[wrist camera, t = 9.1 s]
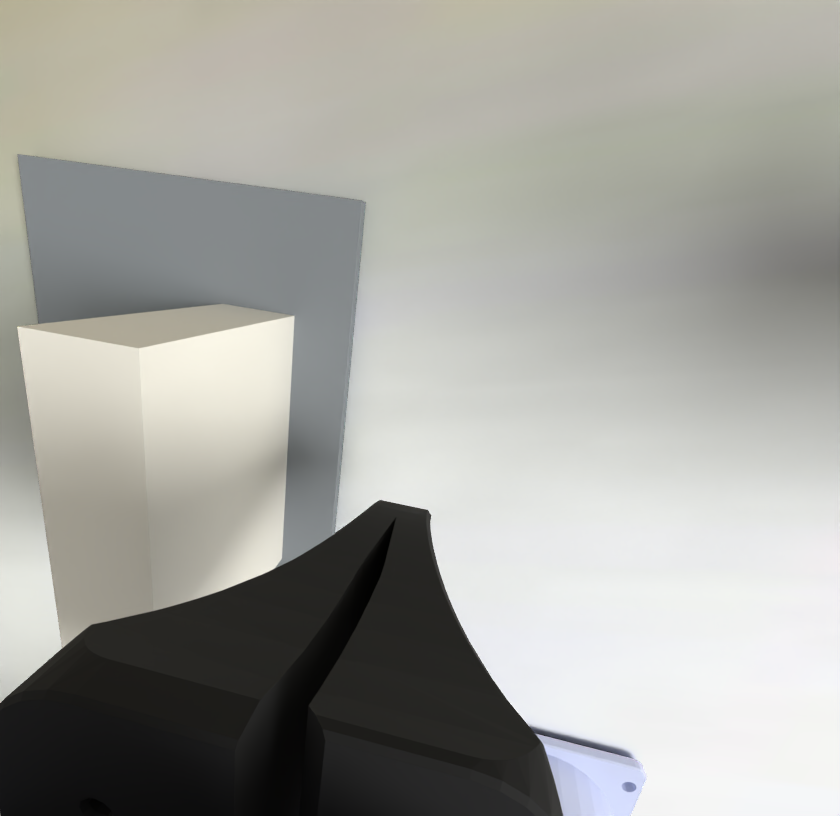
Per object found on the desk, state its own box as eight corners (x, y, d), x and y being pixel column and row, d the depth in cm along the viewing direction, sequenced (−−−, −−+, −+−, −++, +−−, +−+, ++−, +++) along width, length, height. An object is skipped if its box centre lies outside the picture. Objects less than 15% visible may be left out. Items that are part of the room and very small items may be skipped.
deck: (281, 558, 17) (160, 722, 10) (220, 544, 17) (67, 697, 11) (294, 315, 14) (138, 348, 8) (221, 303, 14) (14, 325, 8)
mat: (324, 635, 18) (321, 643, 17) (79, 574, 19) (70, 580, 19) (365, 202, 13) (361, 200, 12) (30, 157, 14) (17, 154, 14)
